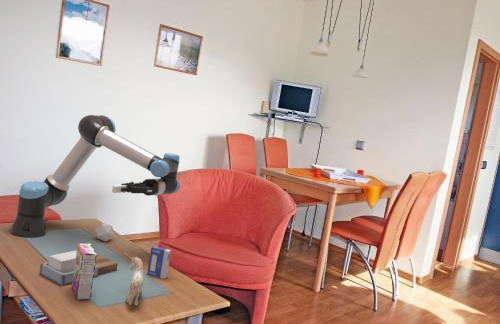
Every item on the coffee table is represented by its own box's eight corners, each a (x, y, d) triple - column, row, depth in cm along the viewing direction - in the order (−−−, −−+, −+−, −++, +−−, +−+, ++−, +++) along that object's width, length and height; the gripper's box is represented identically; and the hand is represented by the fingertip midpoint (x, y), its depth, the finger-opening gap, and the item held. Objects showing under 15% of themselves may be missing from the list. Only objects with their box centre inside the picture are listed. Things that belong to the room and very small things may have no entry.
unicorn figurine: (138, 287, 173) (143, 253, 172) (148, 310, 156) (154, 273, 154) (119, 286, 170) (124, 252, 169) (126, 310, 153) (132, 272, 151)
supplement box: (77, 249, 179) (49, 254, 168) (89, 255, 175) (62, 261, 164) (74, 267, 179) (46, 274, 168) (87, 273, 176) (59, 280, 165)
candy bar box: (70, 286, 163) (77, 243, 161) (85, 286, 165) (91, 243, 164) (75, 300, 153) (82, 253, 152) (90, 299, 156) (97, 253, 154)
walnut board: (77, 265, 183) (78, 258, 182) (96, 261, 191) (97, 254, 191) (97, 275, 177) (98, 268, 176) (116, 270, 185) (117, 263, 185)
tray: (39, 274, 169) (40, 263, 168) (75, 265, 183) (76, 256, 182) (61, 285, 162) (63, 275, 162) (97, 276, 176) (98, 266, 176)
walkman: (146, 274, 187) (151, 246, 186) (149, 272, 190) (154, 245, 188) (164, 279, 185) (169, 251, 184) (167, 277, 188) (171, 249, 187)
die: (116, 242, 223) (114, 223, 227) (111, 237, 215) (109, 218, 219) (99, 245, 222) (98, 227, 226) (94, 241, 214) (92, 222, 218)
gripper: (162, 198, 205) (123, 202, 184) (141, 191, 211) (101, 194, 191) (164, 182, 204) (126, 184, 183) (143, 175, 210) (104, 177, 190)
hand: (113, 189), depth 187 cm, fingers closed
